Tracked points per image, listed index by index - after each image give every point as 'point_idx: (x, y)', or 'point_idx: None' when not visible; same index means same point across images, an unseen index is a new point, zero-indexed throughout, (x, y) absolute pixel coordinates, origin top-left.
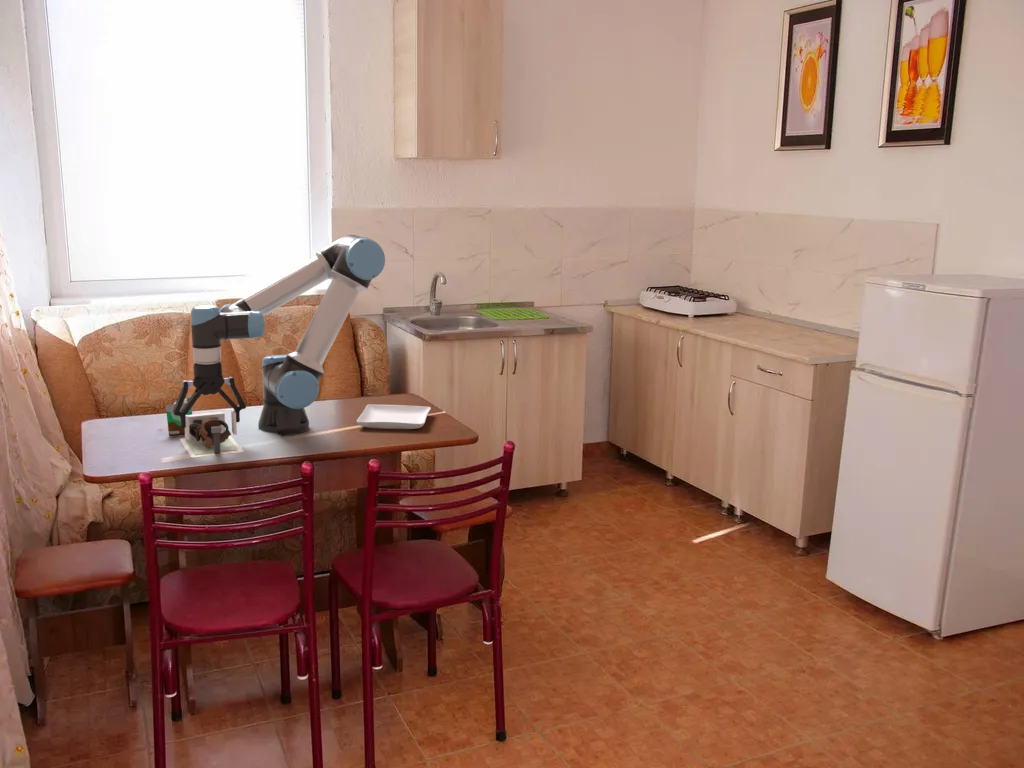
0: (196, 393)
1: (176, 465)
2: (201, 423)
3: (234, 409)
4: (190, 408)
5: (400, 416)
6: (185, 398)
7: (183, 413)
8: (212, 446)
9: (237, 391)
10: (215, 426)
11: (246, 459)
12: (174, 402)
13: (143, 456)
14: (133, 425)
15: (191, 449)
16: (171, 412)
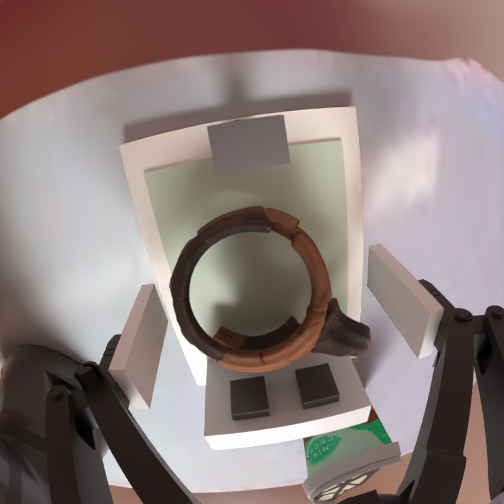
0: (459, 475)
1: (401, 77)
2: (302, 389)
3: (111, 388)
4: (445, 359)
5: None
6: (323, 499)
7: (465, 324)
8: (258, 245)
9: (54, 501)
10: (253, 168)
11: (116, 78)
12: (362, 480)
13: (468, 226)
14: (397, 437)
15: (347, 223)
16: (380, 444)
